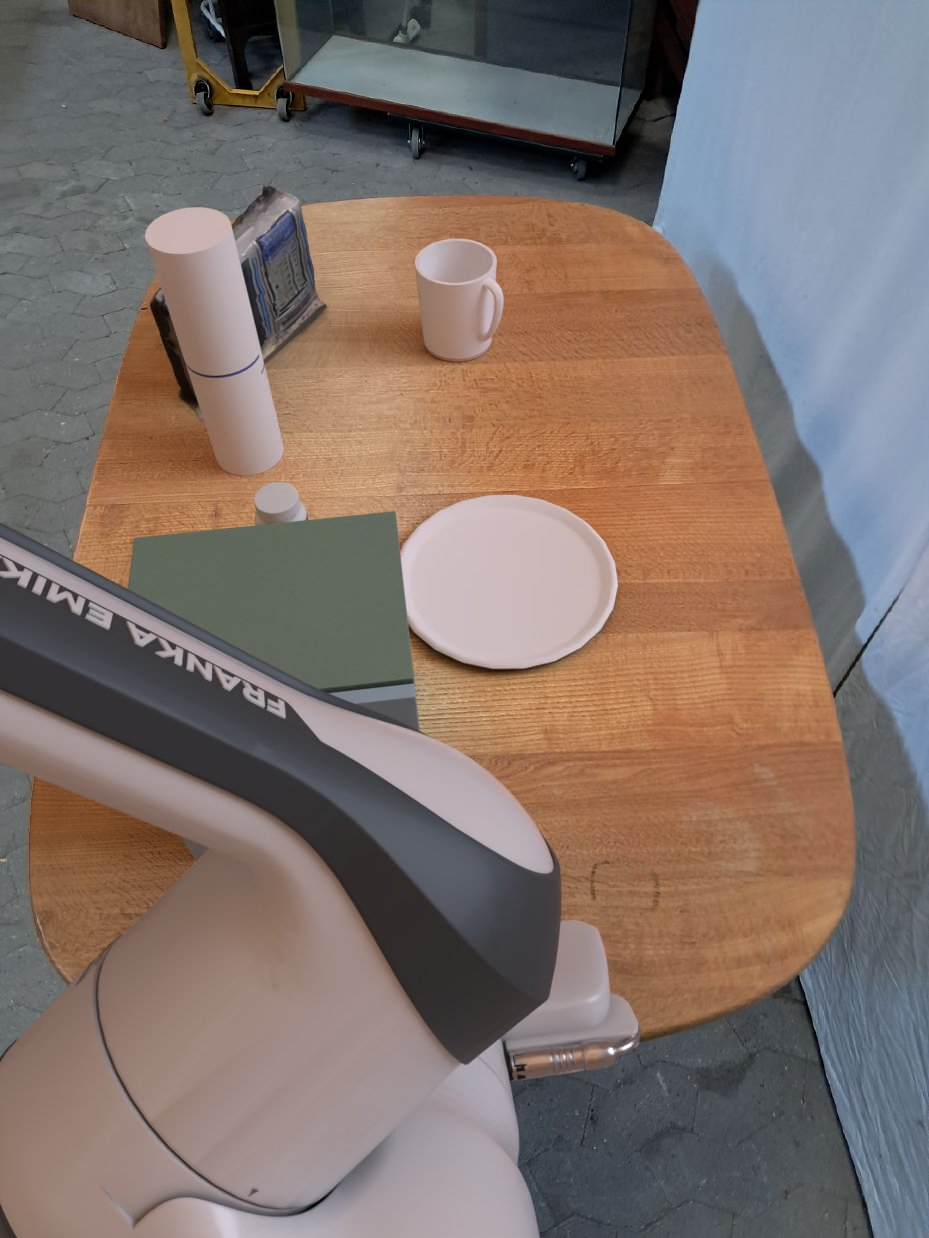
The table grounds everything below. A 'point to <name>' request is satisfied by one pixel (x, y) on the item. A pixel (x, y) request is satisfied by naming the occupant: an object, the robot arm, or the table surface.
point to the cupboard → (291, 595)
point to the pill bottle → (278, 504)
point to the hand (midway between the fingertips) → (399, 927)
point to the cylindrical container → (217, 336)
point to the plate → (507, 582)
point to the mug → (458, 298)
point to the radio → (260, 281)
